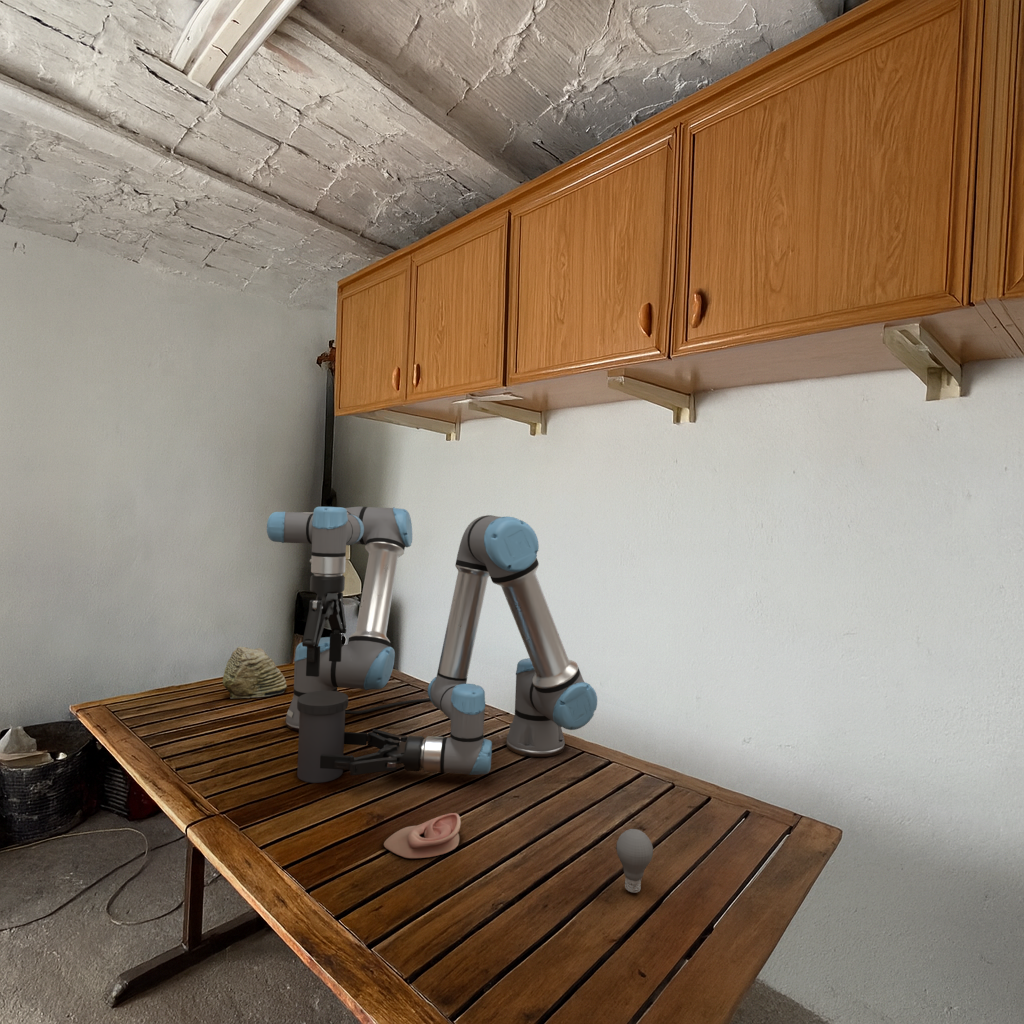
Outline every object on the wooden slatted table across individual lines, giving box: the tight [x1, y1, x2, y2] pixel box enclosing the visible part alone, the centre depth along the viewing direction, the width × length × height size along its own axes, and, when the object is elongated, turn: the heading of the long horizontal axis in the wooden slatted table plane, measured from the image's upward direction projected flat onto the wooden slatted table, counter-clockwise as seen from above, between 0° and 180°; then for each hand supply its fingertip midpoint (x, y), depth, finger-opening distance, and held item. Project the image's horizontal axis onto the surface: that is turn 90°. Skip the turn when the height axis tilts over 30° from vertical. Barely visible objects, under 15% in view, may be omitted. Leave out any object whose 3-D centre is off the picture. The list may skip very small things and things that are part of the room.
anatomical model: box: [383, 812, 462, 859], centre depth 117 cm, size 13×4×12 cm
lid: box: [297, 690, 349, 715], centre depth 145 cm, size 11×11×2 cm
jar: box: [296, 709, 346, 784], centre depth 145 cm, size 10×10×17 cm
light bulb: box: [615, 828, 654, 894], centre depth 106 cm, size 6×6×10 cm
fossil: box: [222, 646, 288, 699], centre depth 198 cm, size 9×18×15 cm, turn 132°
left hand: (324, 668), depth 145 cm, fingers open, 12 cm apart
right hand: (330, 748), depth 144 cm, fingers open, 13 cm apart
